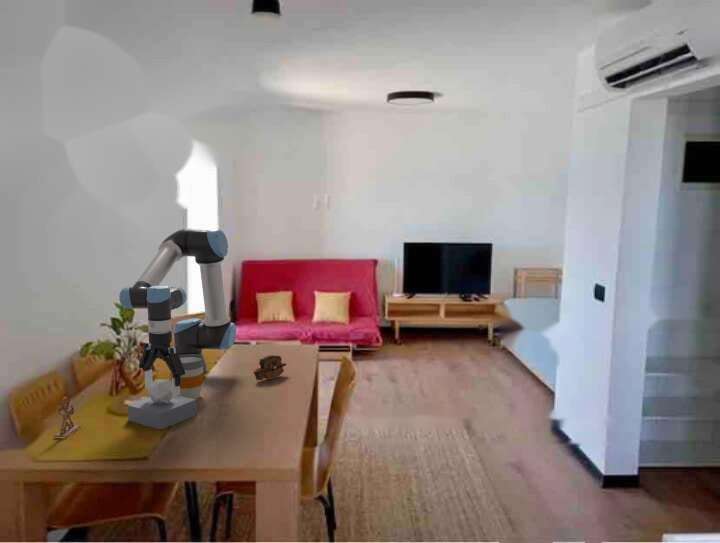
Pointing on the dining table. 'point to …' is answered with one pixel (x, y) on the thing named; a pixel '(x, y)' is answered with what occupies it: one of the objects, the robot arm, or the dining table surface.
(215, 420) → the dining table surface
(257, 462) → the dining table surface
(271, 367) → the wooden carving
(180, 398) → the slate block
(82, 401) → the dining table surface
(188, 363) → the reusable coffee cup
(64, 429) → the brown figurine
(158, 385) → the die
